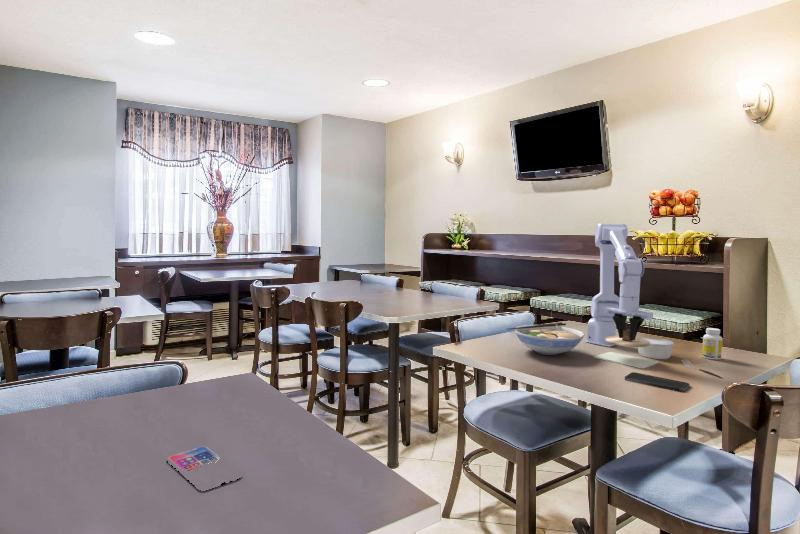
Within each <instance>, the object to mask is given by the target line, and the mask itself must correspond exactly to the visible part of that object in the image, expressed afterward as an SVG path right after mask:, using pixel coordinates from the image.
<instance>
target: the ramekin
mask: <svg viewBox="0 0 800 534" xmlns="http://www.w3.org/2000/svg"><path fill="white" fill-rule="evenodd" d="M641 338H642V339H645V340H648V341H649V342H650V345H649V346H646V347H637V351H638V354H639V355H640V357H644V358H646V359H648V358H649V359H652V360H654V359H655V360H668V359H670V357H671V356H672V354H673V353H672V352H673V349H674V346H675V342H673V341H672V340H669V339H664V338H658V337H647V336H645V337H641Z"/></svg>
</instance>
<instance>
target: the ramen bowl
mask: <svg viewBox="0 0 800 534" xmlns="http://www.w3.org/2000/svg"><path fill="white" fill-rule="evenodd" d="M566 325H567V323H563V322H562V321H561V322H554V323H553V322H552V323H543V324H525V325H519V326H516V327H510V328H506V330H514V331H515V334H516V336H517V338H518V339H519V341H520V342H521V343H522V344H523V345H524V346H525V347H526V348H528V349H531V350H532V351H535V352H536V353H538V354H540V355H544V356H556V355H557V356H558V355H560V354H562V353H566V352H569V351H571V350H573V349H575V348H576V347H577V346H578V345H579V344H580V343H581V341H582V340H583V338H584V337H585V333H584V332H583V331H581V330H578V329H576V328H570V327H566Z"/></svg>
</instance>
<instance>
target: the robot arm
mask: <svg viewBox="0 0 800 534" xmlns="http://www.w3.org/2000/svg"><path fill="white" fill-rule="evenodd" d="M628 230H629V229H628V226H627V224H626V223H601V222H599V223H597V225H596V226H595V231H594V232H595V233H594V243H595V247H597V248H599V252H600V253H599V255H600V256H599V259H600V260H599V262H600V263H599V264H600V265H599V268H600V270H599V274H600V275H599V293H598V294H596V295H594V296H593V297H592V298H591V305H590V315H591V318H590V319H589V320H588V321H587V327H586V340H585V343H589V344H593V345H598V346H603V347H609V348H611V347H614V346H615V345H614V344H611V343H608V342H606V340H605V339H606V337H609V336H617V335H616V334H617V332H618V336H619V338H622V334H623V330H626V322H627V318H628V317H630V318H629V319H628V320H629V325H630V327H629V328H630V329H629V330H630V340H635V338H636V337H637V335H638V334H637V333H638V331H639V329H640V327H641V325H642V324H643V322H644V321H645V320H648V321H651V320H654V313H653V312H648V311H642V310H640V309H639V307H640V292H641V291H640V290H641V278H642V277H644V276H643V275H644V273H645V262H644V260H643V259H642V258H639V257H637V254H636V252H635V250H634V248H633V247H632V246H631V245H629V244H628V243H627V238H628V233H629V231H628ZM615 258H616V260H617V263H618V267H617V269H618V271H617V272H618V282H619V283H620V285H619V286H620V287H619V296H618V295H617V294H615Z"/></svg>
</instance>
